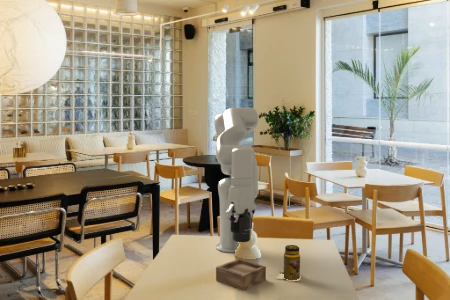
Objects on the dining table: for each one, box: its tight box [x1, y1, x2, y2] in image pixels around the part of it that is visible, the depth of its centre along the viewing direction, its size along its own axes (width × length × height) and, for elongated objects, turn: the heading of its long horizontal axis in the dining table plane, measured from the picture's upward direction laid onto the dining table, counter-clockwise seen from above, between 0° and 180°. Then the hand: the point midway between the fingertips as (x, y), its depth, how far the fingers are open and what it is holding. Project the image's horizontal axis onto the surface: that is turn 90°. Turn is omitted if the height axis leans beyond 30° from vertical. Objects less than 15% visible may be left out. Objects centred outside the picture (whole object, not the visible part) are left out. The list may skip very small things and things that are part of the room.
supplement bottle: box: [232, 209, 252, 243], centre depth 179 cm, size 7×7×12 cm
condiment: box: [279, 244, 303, 280], centre depth 184 cm, size 7×8×12 cm
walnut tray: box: [215, 258, 267, 291], centre depth 181 cm, size 13×13×5 cm
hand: (241, 229), depth 179 cm, fingers closed on supplement bottle, 6 cm apart
